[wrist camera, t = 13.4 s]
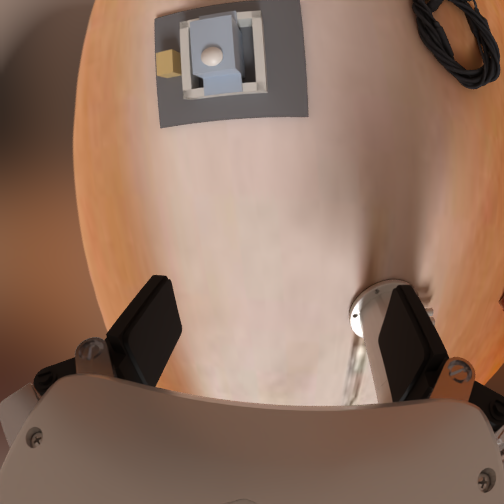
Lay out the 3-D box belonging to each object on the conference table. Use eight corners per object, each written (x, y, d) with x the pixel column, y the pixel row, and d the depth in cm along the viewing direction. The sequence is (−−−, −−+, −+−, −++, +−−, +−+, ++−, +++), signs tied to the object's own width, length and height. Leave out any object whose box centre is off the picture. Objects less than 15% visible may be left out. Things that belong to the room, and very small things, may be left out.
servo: (240, 20, 22) (229, -3, 16) (246, 93, 27) (236, 87, 21) (207, 25, 23) (187, 5, 16) (212, 97, 28) (193, 93, 21)
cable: (490, 98, 22) (507, 100, 18) (418, 76, 24) (434, 73, 20) (473, 4, 14) (487, -1, 10) (398, -25, 16) (409, -36, 12)
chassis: (299, 2, 21) (300, -11, 17) (307, 117, 29) (311, 117, 25) (157, 20, 23) (144, 12, 20) (163, 127, 31) (149, 130, 27)
